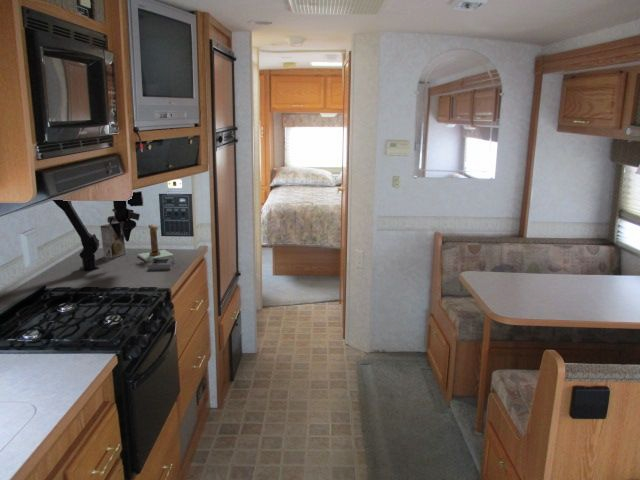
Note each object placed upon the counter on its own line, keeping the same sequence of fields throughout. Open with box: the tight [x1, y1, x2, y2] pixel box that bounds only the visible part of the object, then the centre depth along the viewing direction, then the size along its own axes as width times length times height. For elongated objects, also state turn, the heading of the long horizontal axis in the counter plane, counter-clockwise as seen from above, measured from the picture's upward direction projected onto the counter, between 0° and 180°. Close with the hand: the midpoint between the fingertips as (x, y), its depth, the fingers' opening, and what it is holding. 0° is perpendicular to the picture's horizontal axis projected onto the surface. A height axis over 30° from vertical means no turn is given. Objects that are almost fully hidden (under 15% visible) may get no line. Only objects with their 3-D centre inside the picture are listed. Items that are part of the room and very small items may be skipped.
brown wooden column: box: [148, 223, 160, 256], centre depth 269 cm, size 5×8×15 cm, turn 38°
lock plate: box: [147, 256, 176, 271], centre depth 255 cm, size 10×12×2 cm
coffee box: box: [99, 223, 127, 259], centre depth 272 cm, size 9×6×16 cm
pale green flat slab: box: [137, 249, 175, 263], centre depth 271 cm, size 14×12×1 cm
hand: (123, 239), depth 252 cm, fingers open, 9 cm apart
